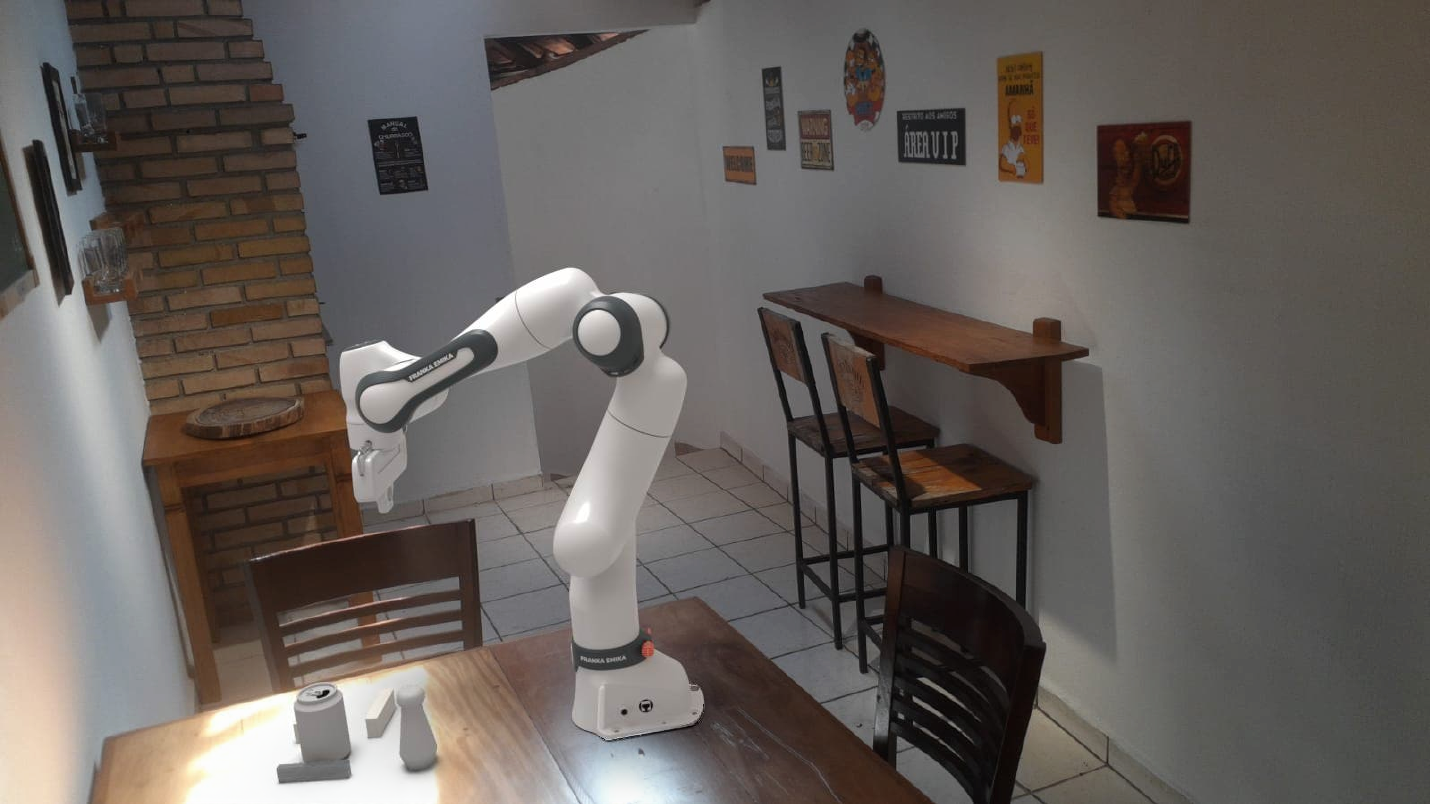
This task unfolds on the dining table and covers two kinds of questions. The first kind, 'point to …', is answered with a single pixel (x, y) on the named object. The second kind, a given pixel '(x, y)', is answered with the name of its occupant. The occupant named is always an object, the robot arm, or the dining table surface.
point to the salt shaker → (415, 729)
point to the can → (322, 723)
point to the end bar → (313, 771)
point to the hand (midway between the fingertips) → (386, 510)
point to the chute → (374, 715)
